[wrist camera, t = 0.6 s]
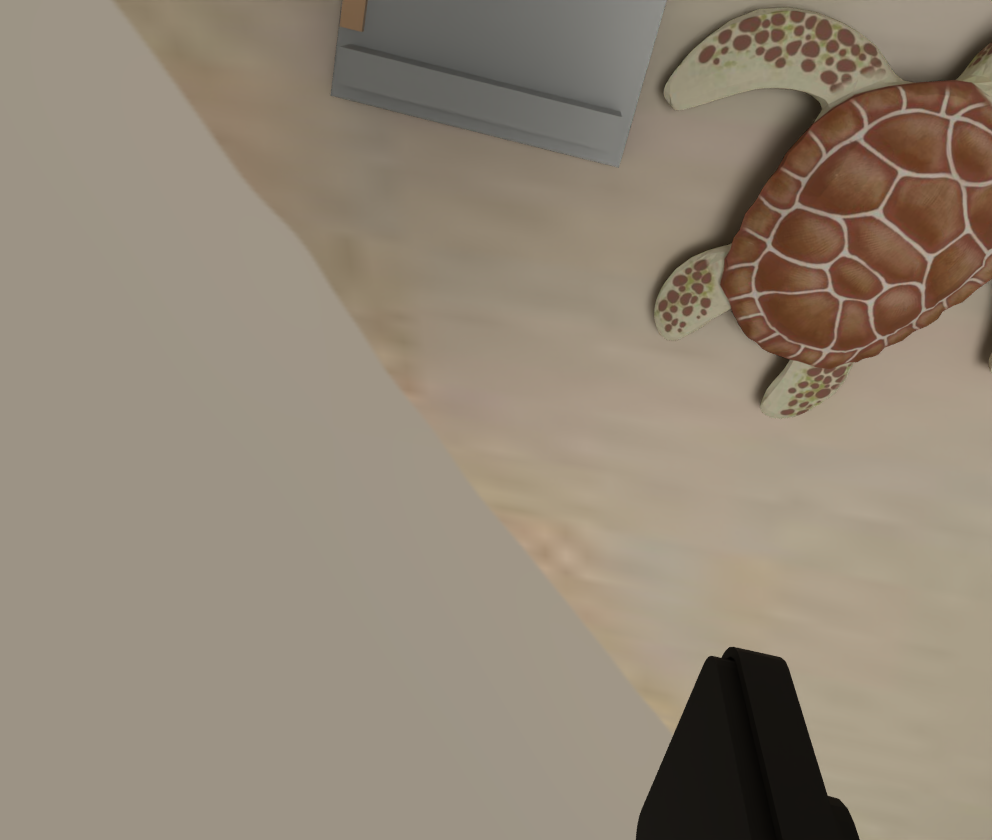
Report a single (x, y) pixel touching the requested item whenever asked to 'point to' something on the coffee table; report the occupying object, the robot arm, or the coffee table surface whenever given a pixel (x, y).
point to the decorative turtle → (840, 203)
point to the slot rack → (504, 66)
